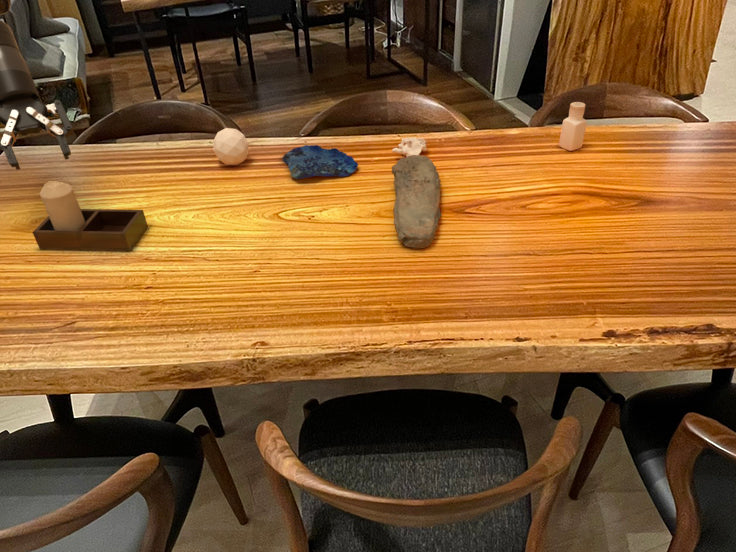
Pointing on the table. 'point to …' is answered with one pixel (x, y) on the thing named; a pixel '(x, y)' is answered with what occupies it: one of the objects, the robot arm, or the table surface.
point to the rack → (95, 231)
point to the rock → (318, 162)
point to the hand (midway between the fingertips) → (42, 162)
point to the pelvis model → (411, 146)
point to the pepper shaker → (573, 127)
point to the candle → (62, 206)
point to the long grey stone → (416, 200)
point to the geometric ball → (230, 146)
